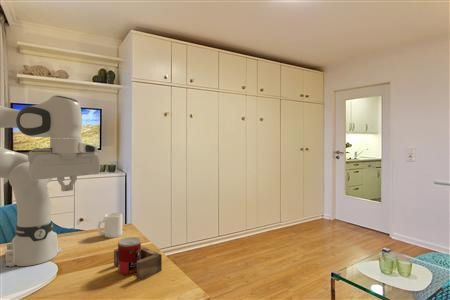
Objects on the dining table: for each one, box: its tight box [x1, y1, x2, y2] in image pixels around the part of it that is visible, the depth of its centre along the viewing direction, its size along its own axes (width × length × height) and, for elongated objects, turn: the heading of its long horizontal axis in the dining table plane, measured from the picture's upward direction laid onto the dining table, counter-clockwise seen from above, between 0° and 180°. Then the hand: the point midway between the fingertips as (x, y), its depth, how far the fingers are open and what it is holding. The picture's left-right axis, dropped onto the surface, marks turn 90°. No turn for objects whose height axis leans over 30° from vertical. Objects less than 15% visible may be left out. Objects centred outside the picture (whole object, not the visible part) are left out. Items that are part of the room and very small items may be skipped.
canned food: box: [117, 236, 142, 276], centre depth 100 cm, size 8×8×11 cm
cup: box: [97, 212, 123, 239], centre depth 135 cm, size 8×12×10 cm
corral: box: [113, 245, 163, 281], centre depth 102 cm, size 17×9×6 cm, turn 51°
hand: (67, 190), depth 88 cm, fingers closed
